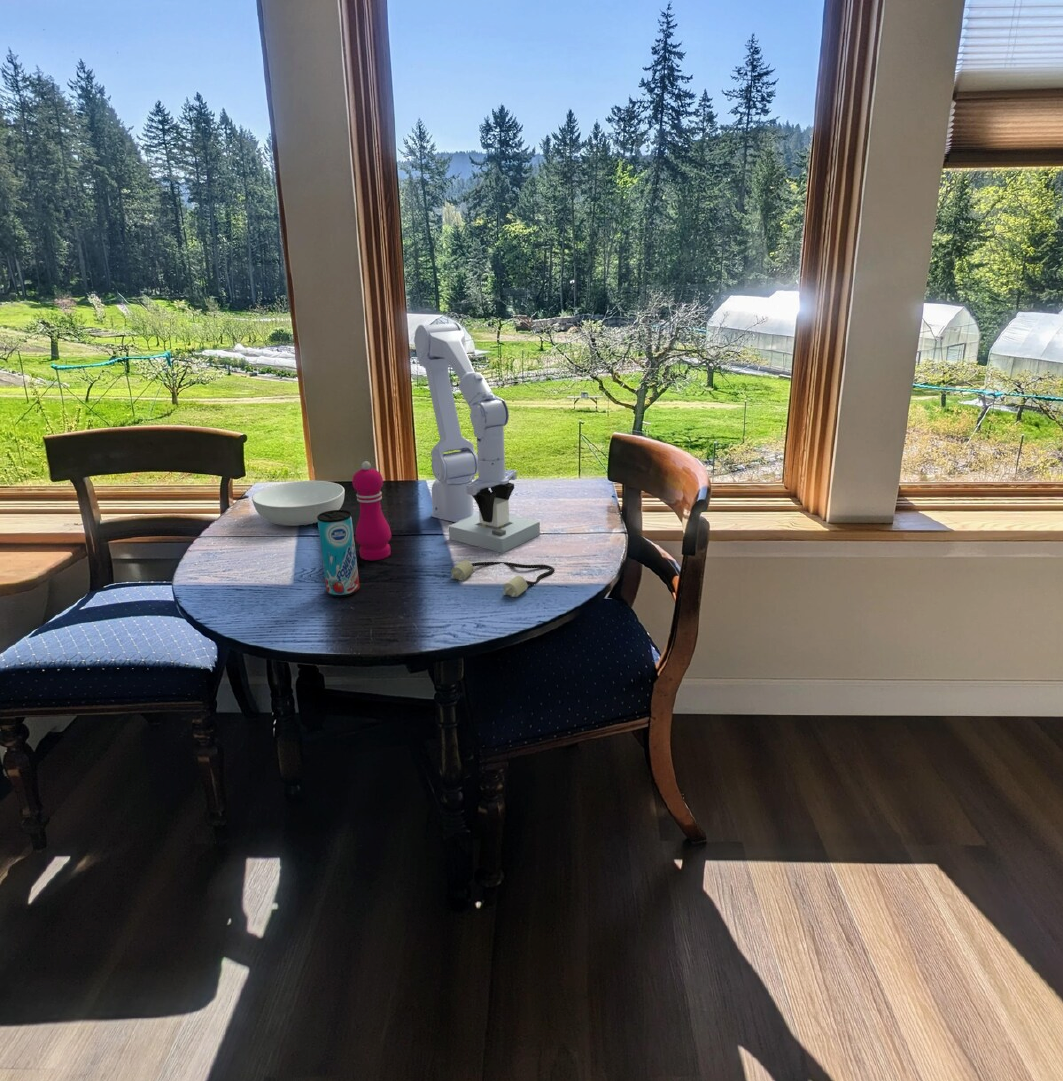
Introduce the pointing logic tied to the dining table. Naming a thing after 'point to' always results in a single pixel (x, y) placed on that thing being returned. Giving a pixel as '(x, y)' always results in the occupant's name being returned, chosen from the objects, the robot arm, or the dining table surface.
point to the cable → (511, 587)
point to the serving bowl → (298, 501)
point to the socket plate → (494, 533)
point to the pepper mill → (371, 515)
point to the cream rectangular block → (498, 514)
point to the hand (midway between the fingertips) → (493, 518)
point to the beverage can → (338, 553)
